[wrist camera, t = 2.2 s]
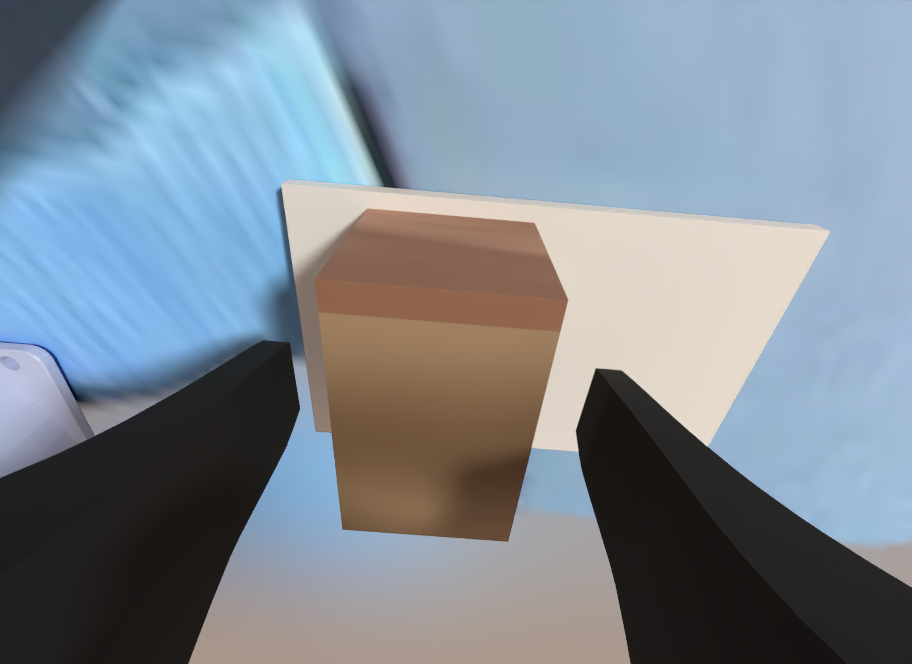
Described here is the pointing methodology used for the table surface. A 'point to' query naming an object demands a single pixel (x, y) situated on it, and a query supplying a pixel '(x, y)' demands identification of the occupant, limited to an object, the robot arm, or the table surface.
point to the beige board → (600, 293)
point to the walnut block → (436, 369)
